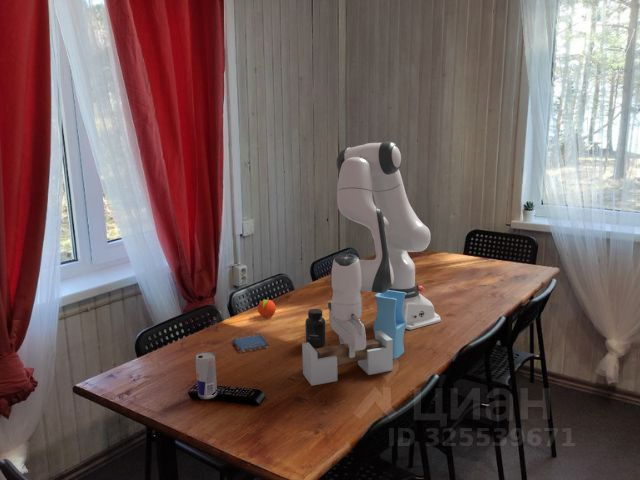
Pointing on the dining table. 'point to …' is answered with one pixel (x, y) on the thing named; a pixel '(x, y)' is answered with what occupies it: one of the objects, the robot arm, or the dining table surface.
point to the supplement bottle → (315, 328)
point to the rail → (347, 352)
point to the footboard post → (318, 366)
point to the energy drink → (206, 375)
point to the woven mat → (250, 343)
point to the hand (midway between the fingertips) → (347, 352)
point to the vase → (391, 318)
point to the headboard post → (379, 356)
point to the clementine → (266, 308)
